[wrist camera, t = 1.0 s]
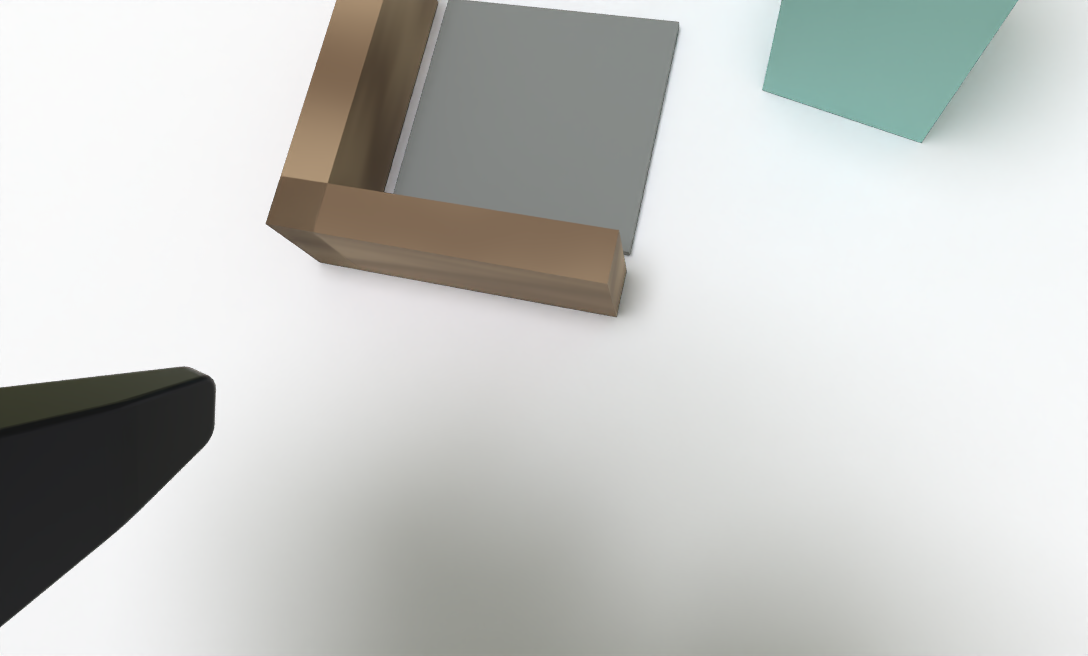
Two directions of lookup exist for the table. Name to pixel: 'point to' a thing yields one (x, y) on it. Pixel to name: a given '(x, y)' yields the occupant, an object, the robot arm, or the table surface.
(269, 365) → the table surface
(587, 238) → the walnut corner walls
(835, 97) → the teal block
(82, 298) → the table surface
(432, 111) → the grey mat
